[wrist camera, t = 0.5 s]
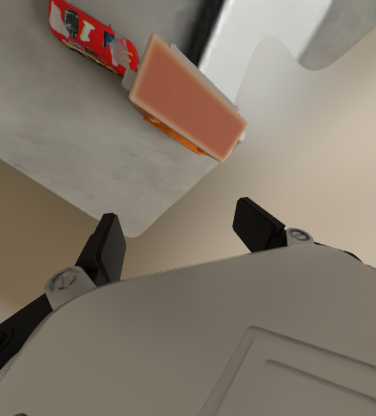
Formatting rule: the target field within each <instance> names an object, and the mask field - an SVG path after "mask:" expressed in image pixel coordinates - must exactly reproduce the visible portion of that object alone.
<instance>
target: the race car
mask: <svg viewBox="0 0 376 416" xmlns="http://www.w3.org/2000/svg"><path fill="white" fill-rule="evenodd" d="M48 13H49V24H50V28H51V30H52V32H53V34H54V35H55V36H56V37H57V38H58V39H59V40H60V41H61V42H62V43H63V44H64V45H65V46H67V47H69V48H70V49H72V50H73V51H76V52H78V53H79V54H82V55H83V56H84V57H86V58H88V59H90V60H92V61H93V62H95V63H97V64H99V65H101V66H103V67H105V68H107V69H108V70H110V71H112V72H114V73H116V74H117V73H118V74H119V75H120V76H123V77H124V75H125V72H126V69H127V68H129V69H131V70H133V71H134V72H135V73H136V74H137V71H138V68H139V59H138V55H137V51H136V49H135V46H134V45H133V43H131V42H130V41H129V40H127V39H126V38H124V37H122V36H121V35H119V34H118V33H116V32H115V31H113V30H112V29H111V25H110V24H109V27H107V26H105V25H104V24H102V23H101V22H99V21H97V20H96V19H94V18H93V17H91V16H90V15H88V14H86V13H85V12H83V11H82V10H80V9H78V8H77V7H75V6H74V5H72V4H71V3H68V2H66V1H64V0H49V10H48Z"/></svg>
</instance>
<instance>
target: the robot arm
mask: <svg viewBox="0 0 376 416" xmlns="http://www.w3.org/2000/svg"><path fill="white" fill-rule="evenodd" d="M232 227H233V229H234V231H235V232H236V234H237V235H238V236H239V237H240V239H241V240H242V241H243V243H244V244H245V245H246V246H247V248H248V249H249V250H250V251H251V253H248V254H243V255H238V256H233V257H228V258H223V259H218V260H213V261H208V262H203V263H198V264H193V265H189V266H184V267H179V268H174V269H170V270H165V271H160V272H155V273H151V274H146V275H141V276H137V277H132V278H128V279H124V280H120V276H121V271H122V266H123V261H124V255H125V250H126V242H125V239H124V235H123V232H122V229H121V226H120V223H119V219H118V216H117V215H114V213H107V214H103V216H102V218H101V220H100V222H99V224H98V226H97V228H96V230H95V232H94V234H92V235H91V236H90V238H89V239H88V241H87V243H86V245H85V247H84V249H83V251H82V252H81V254H80V256H79V258H78V260H77V262H76V264H75V266H71V267H67V268H64V269H62V270H60V271H59V272H57V273H56V274H54V275H53V276H52V277H51V278H50V279H49V280H48V281H47V283H46V285H45V287H44V290H45V293H44V294H43V295H41V296H40V297H39V298H37V299H36V300H34V301H33V302H31V303H30V304H28V305H27V306H25V307H24V308H23V309H21V310H20V311H18V312H17V313H15V314H14V315H13V316H11V317H10V318H8V319H7V320H5V321H4V322H2V323H1V324H0V416H376V268H374V267H372V266H370V265H366V264H364V263H363V262H362V261H361V260H360V259H359V258H357V257H356V256H355V255H354V254H352V253H350V252H347V251H343V250H340V249H337V248H333V247H330V246H326V245H323V244H320V243H316V242H314V240H313V238H312V237H311V235H310V234H308V233H307V232H305V231H303V230H301V229H297V228H289V229H287V230H284V228H285V225H284V224H283V223H281V222H280V221H279V220H277V219H276V218H275V217H273V216H272V215H271V214H269V213H268V212H267V211H265V210H264V209H263V208H261V207H260V206H259V205H257V204H256V203H255V202H253V201H252V200H251V199H249V198H248V197H244V198H240V199H239V200H238V201H237V205H236V210H235V216H234V221H233V226H232Z"/></svg>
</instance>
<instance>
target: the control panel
mask: <svg viewBox="0 0 376 416" xmlns="http://www.w3.org/2000/svg"><path fill="white" fill-rule="evenodd" d="M122 86H123V87H125V89H126V90H127V91H129V92H130V93H129V99H130V100H131V102H132V103H133V104H134V106H135V107H136V108H137V109H138V111H139V112H140V113H141V114H142V115H143V116H144V120H146V121H147V122H149V123H150V124H152V125H153V126H155V127H156V128H158V129H159V130H161V131H162V132H164V133H165V134H167V135H168V136H170V137H171V138H173V139H174V140H176V141H178V142H179V143H181V144H182V145H184V146H185V147H187V148H188V149H190V150H191V151H193V152H195V153H196V154H198V155H199V156H200V155H201V154H202V155H208V156H210V157H212V158H213V159H215V160H217V161H219V162H222V163H223V162H224V161H225V159H227V157H228V156H229V154H230V153H231V151H232V150H233V147H234V146H235V144H236V143H237V141H238V140H239V138H240V137H241V135H242V134H243V132H244V131H245V129H246V127H247V126H248V122H247V121H245V120H244V118H243V117H241V116H240V115H239V114H238V111H239V109H238V107H237V106H235V105H234V104H233V103H232V102H231V101H230V100H229V99H228V98H227V97H226V96H225V95H224V94H223V93H222V92H221V91H220V90H219V89H218V88H217V87H216V86H215V85H214V84H213V83H212V82H211V81H210V80H209V79H208V78H207V77H206V76H205V75H204V74H203V73H202V72H201V71H200V70H199V69H198V68H197V67H196V66H195V65H194V64H193V63H191V62H190V61H189V60H188V59H187V58H186V57H185V56H184V55H183V54H182V53H181V52H180V51H179V50H178V49H177V48H176V46H175V45H174V44H172V43H171V44H170V46H168V45H167V44H166V43H165V42H164V41H163V40H161V39H160V38H159V37H158V36H157V35H156V34H155V33H152V34H151V35H150V38H149V41H148V43H147V46H146V49H145V52H144V55H143V57H142V60H141V63H140V66H139V68H138V71H137V74H136V73H135V72H134V71H133V70H131V69H129V68H127V69H126V72H125V75H124V78H123V81H122Z"/></svg>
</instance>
